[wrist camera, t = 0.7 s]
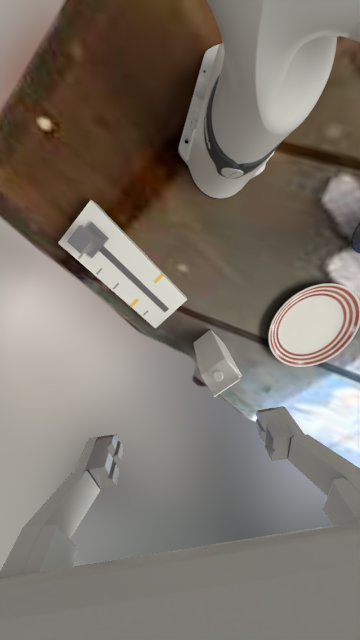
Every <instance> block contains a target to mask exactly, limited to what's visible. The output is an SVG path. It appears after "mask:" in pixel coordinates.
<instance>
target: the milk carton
mask: <svg viewBox="0 0 360 640" xmlns="http://www.w3.org/2000/svg"><path fill="white" fill-rule="evenodd" d="M193 345H194V349H195V353H196V357H197V361H198V365H199V369H200V373H201V376H202V378H203V379H204V381H205V382H206V384H207V385H208V387H209V388H210V390H211V391H212V393H213V396H214V397H215V396H217V395H218V394H220V393H221V392H223V391H224V390H226V389H227V388H229V387H230V386H232V385H233V384H235V383H236V382H238V381H239V380H240V378H239V377H241V376H242V375H241V373H240V371H239V370H238V368H237V366H236V364H235V362H234V361H233V359H232V357H231V355H230V353H229V352H228V350H227V348H226V346H225V345H224V343H223V342H222V341H221V340H220V339H219V338H218V337H217V336H216V335H215V333H214V332H213V331H212V330H209V331H208V332H207V333H205V334H204V335H203V336H201V337H200V338H199V339H198V340H196V341H195V342H194V343H193Z"/></svg>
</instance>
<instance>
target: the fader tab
mask: <svg viewBox="0 0 360 640" xmlns="http://www.w3.org/2000/svg"><path fill="white" fill-rule="evenodd" d="M108 239H109V238H108V237H107V236H106V235H105V234H104V233H103V232H102V231H101V230H100V229H99V228H98V227H97V226H96V225H95V224H94V223H93V222H91V223H90V224H89V226H88V227H84V226H78V228H77V229H76V230H75V232H74V233H73V234H72V236H71V237H70V238H69V239H68V241H67V242H68V243H69V244H70V245H71V246H72V247H73V248H75V249H76V250H77V251H78V252H79V253H80V254H83V253H87V254H88V255H89V256H90V257H91V258H93V257H94V256H95V255H96V253H97V252H98V251H99V250H100V249H101V247H102V246H103V245H104V244H105V243H106V242H107V240H108Z"/></svg>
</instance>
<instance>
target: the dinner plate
mask: <svg viewBox="0 0 360 640" xmlns="http://www.w3.org/2000/svg"><path fill="white" fill-rule="evenodd" d="M359 325H360V301H359V299H358V297H357V296H356V294H355V293H354V292H353V291H352V290H350V289H349V288H347V287H345V286H342V285H339V284H332V283H325V284H318V285H314V286H311V287H308V288H306V289H304V290H302V291H300V292H298V293H297V294H295V295H294V296H292V297H291V298H290V299H288V300H287V301H286V302H285V303H284V304H283V305H282V306H281V308H280V309H279V310H278V311H277V313H276V314H275V316H274V318H273V320H272V322H271V325H270V328H269V333H268V342H269V346H270V349H271V351H272V353H273V354H274V356H275V357H276V358H277V359H278V360H280V361H281V362H283V363H285V364H287V365H291V366H296V367H305V366H312V365H316V364H319V363H322V362H324V361H327V360H329V359H330V358H332V357H334V356H335V355H337V354H338V353H339V352H341V351H342V350H343V349H344V348H345V347H346V346H347V345H348V344H349V343H350V341H351V340H352V339H353V337H354V336H355V334H356V332H357V330H358V328H359Z"/></svg>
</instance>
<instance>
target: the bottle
mask: <svg viewBox="0 0 360 640" xmlns="http://www.w3.org/2000/svg"><path fill="white" fill-rule="evenodd" d="M352 245H353V247H354V249H355V250H356V251H357V252H358V253H360V224H359V225H358V227H357V228H356V230H355V232H354V235H353V240H352Z"/></svg>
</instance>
